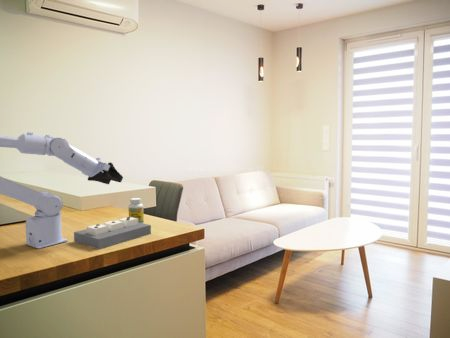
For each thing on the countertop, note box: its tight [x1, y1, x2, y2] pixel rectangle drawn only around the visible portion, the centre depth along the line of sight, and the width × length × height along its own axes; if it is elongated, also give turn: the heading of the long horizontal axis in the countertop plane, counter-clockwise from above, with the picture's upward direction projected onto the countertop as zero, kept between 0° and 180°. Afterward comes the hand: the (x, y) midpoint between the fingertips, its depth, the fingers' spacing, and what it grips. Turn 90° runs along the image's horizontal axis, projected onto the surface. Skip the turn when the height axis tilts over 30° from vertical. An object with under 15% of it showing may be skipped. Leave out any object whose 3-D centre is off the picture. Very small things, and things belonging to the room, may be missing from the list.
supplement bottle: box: [128, 197, 145, 224], centre depth 133 cm, size 5×5×10 cm
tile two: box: [86, 223, 108, 236], centre depth 110 cm, size 4×4×3 cm
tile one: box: [103, 219, 124, 231], centre depth 115 cm, size 4×4×3 cm
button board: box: [73, 222, 152, 250], centre depth 116 cm, size 20×13×3 cm, turn 144°
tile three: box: [118, 216, 138, 227], centre depth 120 cm, size 4×4×3 cm
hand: (115, 180), depth 124 cm, fingers open, 7 cm apart
